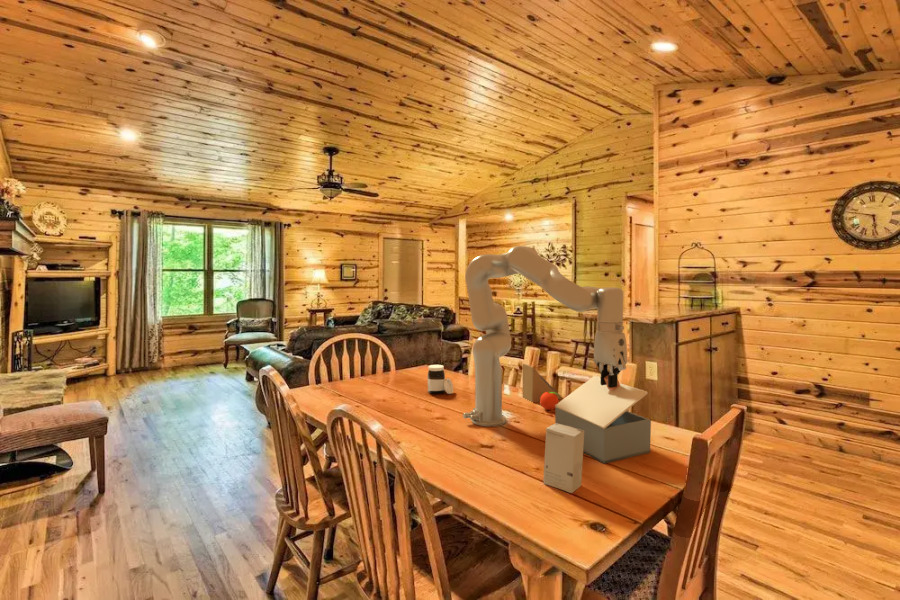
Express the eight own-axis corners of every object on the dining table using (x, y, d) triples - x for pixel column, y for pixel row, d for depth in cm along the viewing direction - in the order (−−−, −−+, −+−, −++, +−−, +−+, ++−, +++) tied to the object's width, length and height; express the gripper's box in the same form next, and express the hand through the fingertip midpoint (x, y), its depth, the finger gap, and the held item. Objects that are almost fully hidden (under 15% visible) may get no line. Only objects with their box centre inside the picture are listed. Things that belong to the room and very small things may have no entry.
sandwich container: (564, 399, 190) (564, 364, 189) (532, 403, 185) (532, 367, 184) (553, 393, 198) (553, 360, 197) (522, 397, 193) (522, 363, 192)
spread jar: (427, 389, 207) (426, 364, 206) (451, 388, 209) (451, 363, 208) (428, 396, 195) (428, 370, 195) (454, 395, 197) (454, 369, 196)
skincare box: (543, 484, 117) (543, 428, 116) (554, 475, 121) (554, 421, 120) (573, 494, 111) (574, 435, 110) (584, 485, 116) (584, 428, 115)
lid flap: (604, 429, 127) (598, 415, 126) (555, 407, 147) (550, 395, 146) (647, 393, 134) (643, 380, 132) (595, 376, 154) (590, 365, 152)
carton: (603, 463, 128) (604, 429, 127) (555, 437, 148) (555, 407, 147) (650, 452, 136) (650, 419, 135) (598, 428, 156) (598, 400, 155)
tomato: (559, 407, 180) (559, 389, 179) (562, 412, 173) (562, 394, 172) (539, 406, 180) (539, 389, 180) (540, 412, 174) (541, 394, 173)
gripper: (639, 329, 134) (638, 390, 136) (600, 323, 149) (599, 378, 151) (620, 331, 131) (619, 394, 133) (582, 325, 146) (581, 381, 147)
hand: (608, 385), depth 142 cm, fingers closed on lid flap, 2 cm apart
